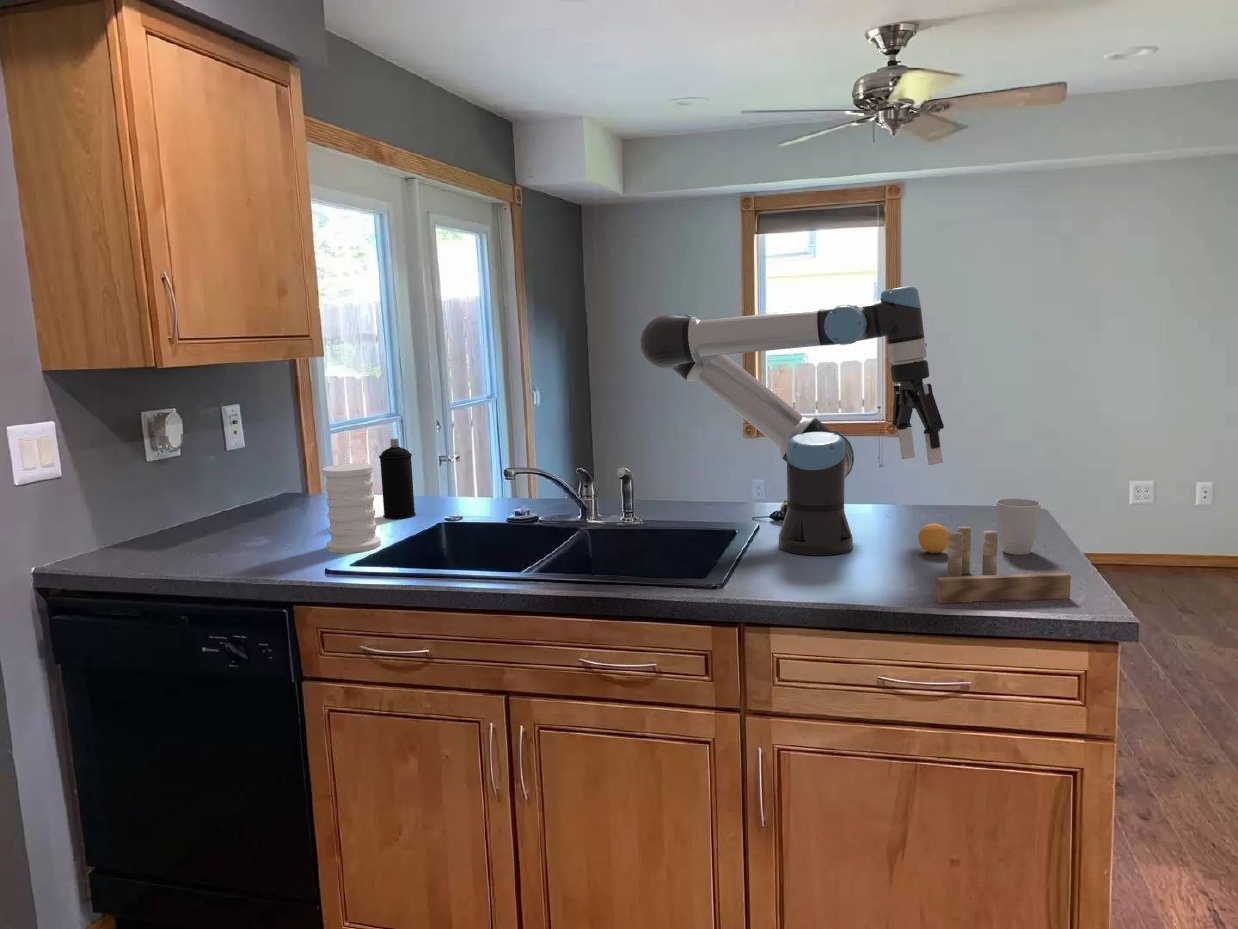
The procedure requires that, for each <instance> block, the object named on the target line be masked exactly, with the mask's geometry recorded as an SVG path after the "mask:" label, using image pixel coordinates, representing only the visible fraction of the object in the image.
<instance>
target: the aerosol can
mask: <svg viewBox="0 0 1238 929" xmlns="http://www.w3.org/2000/svg"><path fill="white" fill-rule="evenodd" d="M389 440H390V447H389V448H386V449H385V450H383V451H382V452H381V454H380V455H379V456H378V458H379V462H380V464H379V465H380V473H381V474H380V477H381V488H382V489H381V491H382V505H383V516H382V517H383V518H384V519H387V520H403V519H405V520H406V519H410V518H413V517H415V516H416V514H417V513H416V512H415V510H416V508H415V496H414V495H415V494H414V481H413V464H412V456H413V454H412V453H410V451H409V450H408V449H406V448H404V447H400V444H399V443H400V442H399V438H390V439H389Z"/></svg>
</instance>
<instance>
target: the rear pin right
mask: <svg viewBox="0 0 1238 929" xmlns="http://www.w3.org/2000/svg"><path fill="white" fill-rule="evenodd" d="M962 541H963V533H960V532H957V531H948V547H947V568H946V569H947V571H946V572H947V574H946V577H961V576H962V575H963V574H962Z"/></svg>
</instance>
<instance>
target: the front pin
mask: <svg viewBox="0 0 1238 929" xmlns="http://www.w3.org/2000/svg"><path fill="white" fill-rule="evenodd" d="M956 532H960V533H963V541H962V575H969V574H970V573H971V546H972V545H971V544H972V543H971V540H972V527H970V526H965V525H963V526H961V525H960V526H957V528H956Z"/></svg>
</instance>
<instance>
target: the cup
mask: <svg viewBox="0 0 1238 929" xmlns="http://www.w3.org/2000/svg"><path fill="white" fill-rule="evenodd" d="M995 503H996V507H995V508H996V509H995V510H996V525H997V532H998V541H999V543H1000V545H1001V550H1002V553H1003V552H1004V553H1006V554H1010V555H1018V556H1019V555H1020V556H1021V555H1029V554H1030V553H1031V551H1032V548H1033V546H1034V543H1035V542H1036V536H1037V534H1038V533H1037V532H1038V527H1039V522H1040V513H1041V502H1039V501H1036V500H1033V499H1026V498H1002V499H997V500H996V501H995Z"/></svg>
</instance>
